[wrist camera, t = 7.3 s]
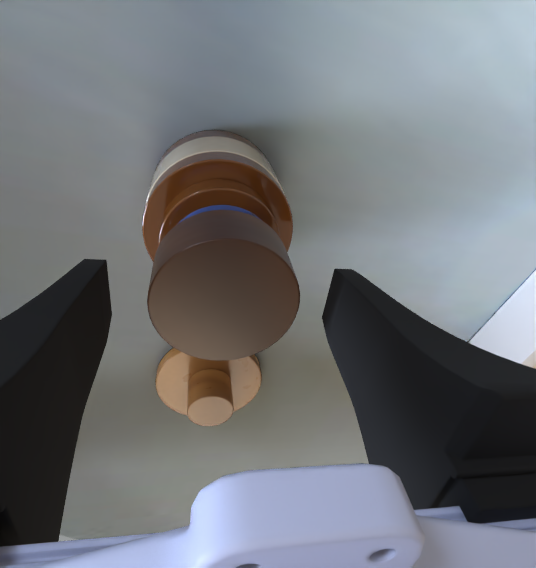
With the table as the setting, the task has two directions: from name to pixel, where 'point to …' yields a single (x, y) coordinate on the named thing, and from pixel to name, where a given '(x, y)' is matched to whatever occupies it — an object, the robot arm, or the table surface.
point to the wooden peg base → (207, 386)
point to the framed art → (513, 327)
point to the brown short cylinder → (222, 286)
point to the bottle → (213, 185)
